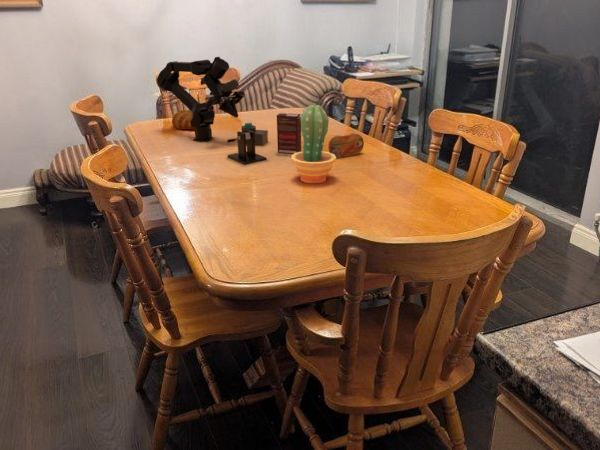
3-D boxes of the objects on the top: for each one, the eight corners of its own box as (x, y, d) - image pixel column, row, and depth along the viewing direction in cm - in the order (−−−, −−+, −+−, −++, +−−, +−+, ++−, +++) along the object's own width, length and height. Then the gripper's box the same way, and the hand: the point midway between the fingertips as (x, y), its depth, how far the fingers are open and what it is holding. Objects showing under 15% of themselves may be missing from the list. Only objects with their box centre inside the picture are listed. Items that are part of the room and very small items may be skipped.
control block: (239, 144, 221) (238, 128, 219) (245, 140, 228) (244, 124, 225) (262, 146, 219) (261, 130, 216) (268, 142, 225) (267, 126, 222)
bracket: (227, 158, 204) (226, 130, 199) (249, 153, 210) (248, 126, 205) (244, 165, 195) (243, 137, 191) (266, 160, 201) (265, 132, 197)
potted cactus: (337, 173, 187) (339, 102, 177) (333, 187, 173) (335, 111, 163) (295, 170, 189) (294, 100, 179) (287, 185, 175) (286, 110, 165)
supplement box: (301, 153, 209) (301, 113, 203) (297, 157, 205) (297, 116, 199) (281, 151, 212) (280, 112, 206) (277, 155, 208) (276, 114, 201)
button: (243, 128, 221) (243, 123, 220) (246, 126, 224) (246, 122, 223) (250, 128, 220) (250, 124, 219) (253, 126, 223) (253, 122, 222)
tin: (331, 159, 202) (331, 137, 199) (326, 157, 205) (327, 135, 201) (363, 154, 209) (364, 133, 205) (359, 152, 211) (360, 131, 208)
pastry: (206, 129, 246) (205, 112, 243) (180, 132, 240) (178, 115, 236) (190, 120, 262) (188, 104, 259) (164, 124, 256) (163, 107, 252)
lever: (227, 144, 205) (226, 138, 205) (241, 141, 208) (239, 135, 208) (241, 140, 196) (240, 134, 196) (255, 137, 199) (253, 131, 199)
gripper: (208, 76, 202) (231, 108, 201) (240, 70, 216) (262, 100, 215) (195, 94, 210) (217, 125, 208) (227, 88, 224) (248, 117, 222)
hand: (237, 116), depth 213 cm, fingers closed
